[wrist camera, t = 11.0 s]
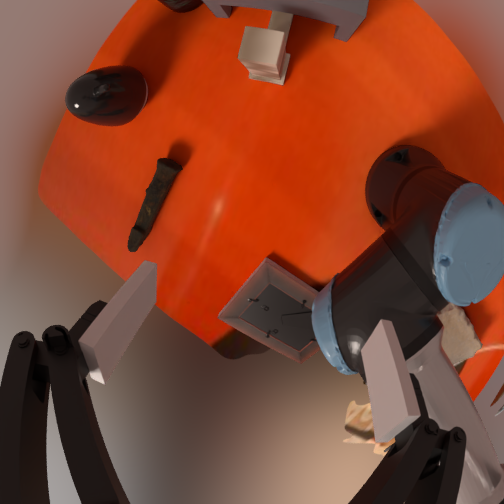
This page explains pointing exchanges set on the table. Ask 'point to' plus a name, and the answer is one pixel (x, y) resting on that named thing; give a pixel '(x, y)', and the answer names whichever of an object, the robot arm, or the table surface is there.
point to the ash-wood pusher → (267, 49)
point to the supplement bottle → (181, 5)
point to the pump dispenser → (108, 95)
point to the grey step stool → (305, 11)
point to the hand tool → (153, 201)
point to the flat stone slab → (458, 334)
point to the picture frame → (275, 311)
